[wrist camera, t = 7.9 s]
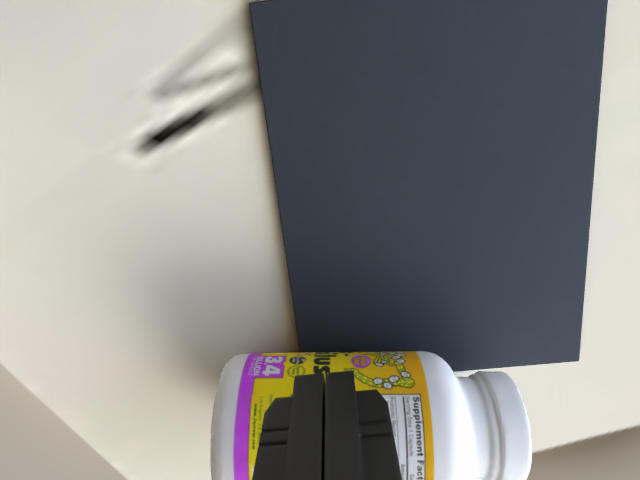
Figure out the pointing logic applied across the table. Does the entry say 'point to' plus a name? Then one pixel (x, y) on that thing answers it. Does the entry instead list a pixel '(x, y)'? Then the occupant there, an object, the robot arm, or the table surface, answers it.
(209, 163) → the table surface
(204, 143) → the table surface
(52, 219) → the table surface
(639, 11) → the table surface
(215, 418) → the supplement bottle
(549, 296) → the mat
